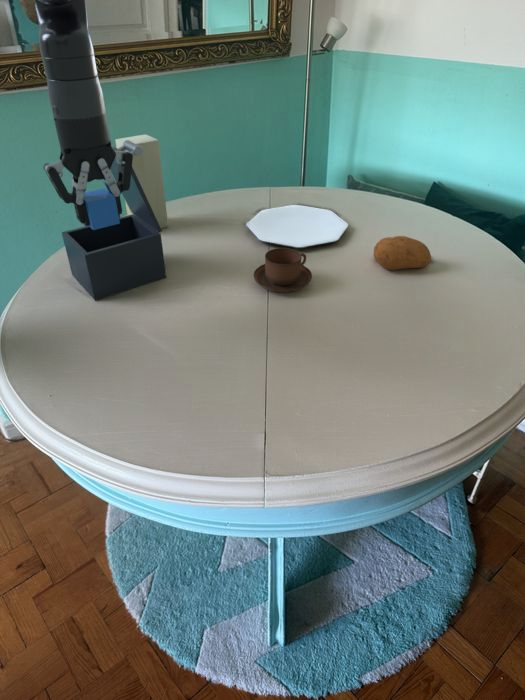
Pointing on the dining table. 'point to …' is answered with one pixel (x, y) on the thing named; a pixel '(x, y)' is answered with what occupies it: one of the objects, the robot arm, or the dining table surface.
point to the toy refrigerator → (149, 175)
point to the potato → (401, 253)
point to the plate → (297, 226)
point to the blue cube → (101, 209)
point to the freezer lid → (136, 190)
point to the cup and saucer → (283, 271)
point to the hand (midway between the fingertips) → (100, 220)
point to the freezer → (115, 256)
